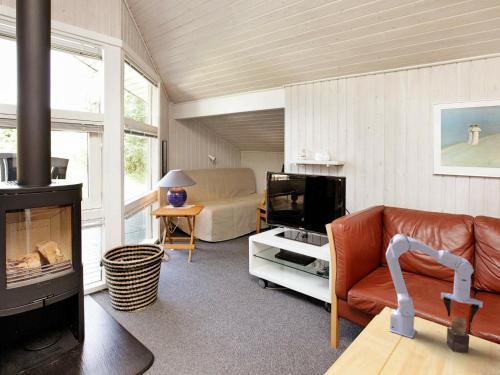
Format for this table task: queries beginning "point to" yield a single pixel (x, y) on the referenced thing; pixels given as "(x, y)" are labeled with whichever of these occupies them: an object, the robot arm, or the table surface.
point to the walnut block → (458, 325)
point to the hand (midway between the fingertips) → (459, 318)
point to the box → (457, 341)
